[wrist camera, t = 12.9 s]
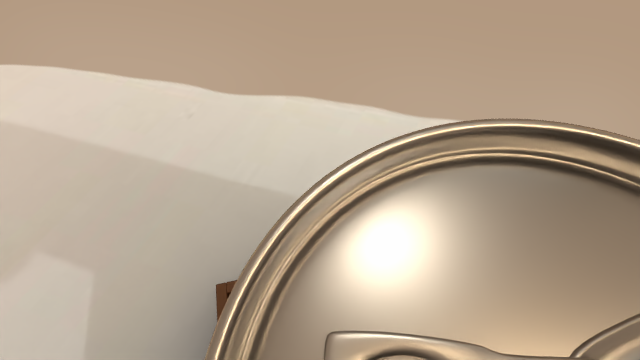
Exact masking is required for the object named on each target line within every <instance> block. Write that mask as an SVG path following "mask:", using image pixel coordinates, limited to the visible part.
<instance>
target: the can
mask: <svg viewBox="0 0 640 360" xmlns="http://www.w3.org/2000/svg"><path fill="white" fill-rule="evenodd" d="M205 360H640V140H637V139H634V138H630V137H627V136H623V135H620V134H616V133H612V132H608V131H604V130H599V129H595V128H590V127H584V126H580V125H574V124H568V123H561V122H553V121H544V120H531V119H484V120H472V121H463V122H456V123H449V124H444V125H439V126H434V127H430V128H426V129H422V130H418V131H415V132H411V133H408V134H405V135H402V136H399V137H397V138H394V139H391V140H389V141H386V142H384V143H381V144H379V145H377V146H375V147H373V148H371V149H369V150H367V151H365V152H363V153H361V154H359V155H357V156H355V157H354V158H352V159H350V160H348V161H347V162H345V163H344V164H342V165H341V166H339V167H337V168H336V169H335V170H333V171H332V172H330V173H329V174H327V175H326V176H325V177H323V178H322V179H321V180H320V181H318V182H317V183H316V184H315V185H313V186H312V187H311V188H310V189H309V190H308V191H306V192H305V193H304V194H303V195H302V196H301V197H300V198H299V199H298V200H297V201H296V202H295V203H294V204H293V205H292V206H291V207H290V208H289V209H288V210H287V211H286V212H285V213H284V214H283V215H282V217H281V218H280V219H279V220H278V221H277V222H276V223H275V225H274V226H273V227H272V228H271V230H270V231H269V232H268V233H267V235H266V236H265V237H264V239H263V240H262V242H261V243H260V244H259V246H258V247H257V249H256V250H255V252H254V253H253V255H252V256H251V258H250V259H249V261H248V263H247V264H246V266H245V267H244V269H243V271H242V273H241V274H240V276H239V278H238V280H237V282H236V284H235V285H234V288H233V290H232V292H231V294H230V296H229V298H228V300H227V302H226V304H225V306H224V309H223V311H222V313H221V315H220V318H219V320H218V323H217V326H216V328H215V331H214V333H213V336H212V339H211V342H210V345H209V348H208V351H207V354H206V357H205Z"/></svg>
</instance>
